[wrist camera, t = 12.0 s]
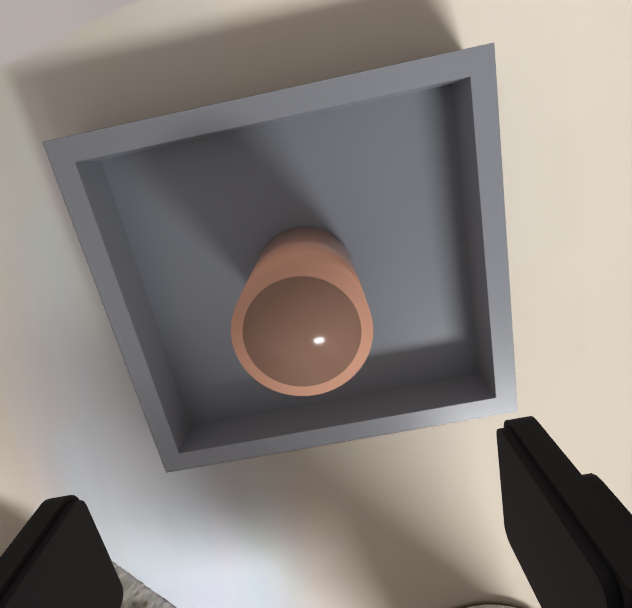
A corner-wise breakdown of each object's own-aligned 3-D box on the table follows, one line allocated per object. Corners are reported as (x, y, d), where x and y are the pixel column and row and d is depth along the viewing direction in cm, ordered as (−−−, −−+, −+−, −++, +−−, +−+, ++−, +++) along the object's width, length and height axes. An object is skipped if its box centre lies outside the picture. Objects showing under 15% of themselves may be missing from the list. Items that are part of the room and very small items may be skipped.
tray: (492, 379, 31) (517, 411, 28) (183, 434, 33) (166, 472, 29) (466, 58, 25) (494, 42, 21) (81, 142, 26) (42, 142, 22)
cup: (362, 312, 29) (383, 383, 20) (268, 329, 29) (250, 407, 20) (345, 217, 27) (360, 251, 18) (245, 237, 27) (213, 280, 18)
